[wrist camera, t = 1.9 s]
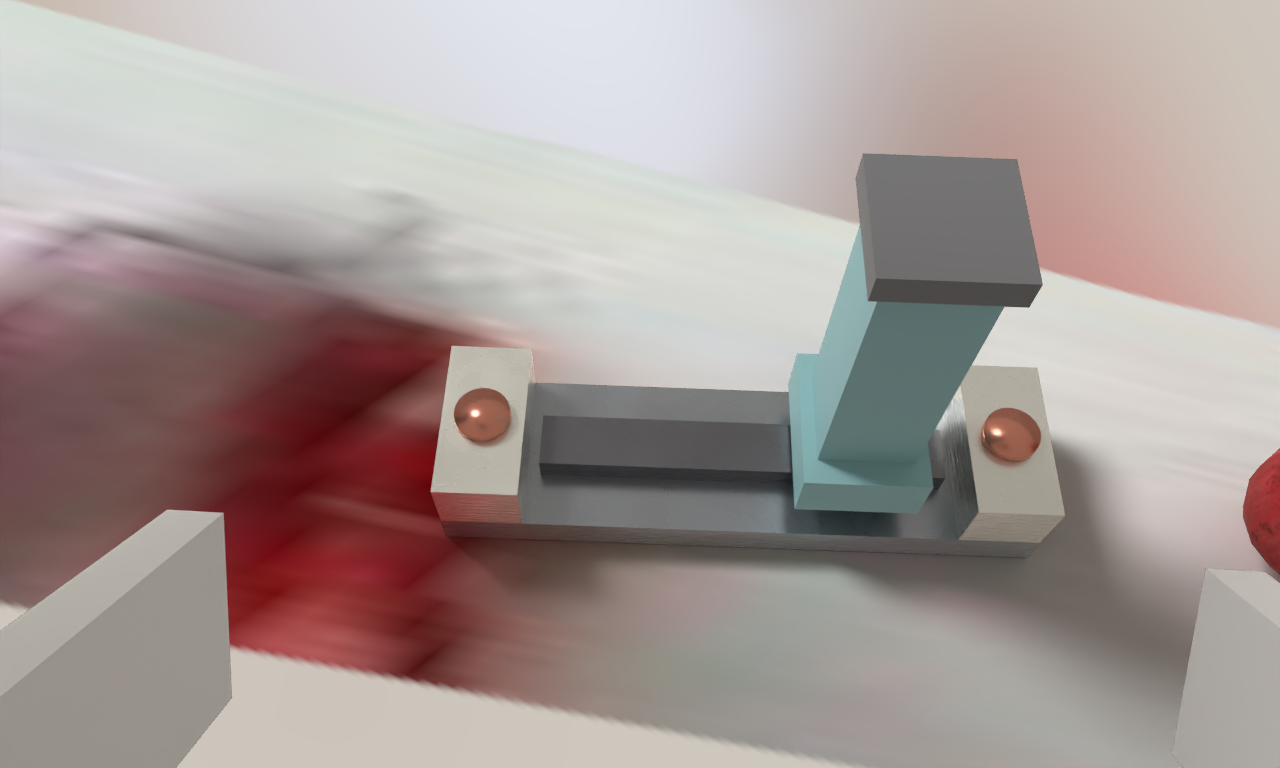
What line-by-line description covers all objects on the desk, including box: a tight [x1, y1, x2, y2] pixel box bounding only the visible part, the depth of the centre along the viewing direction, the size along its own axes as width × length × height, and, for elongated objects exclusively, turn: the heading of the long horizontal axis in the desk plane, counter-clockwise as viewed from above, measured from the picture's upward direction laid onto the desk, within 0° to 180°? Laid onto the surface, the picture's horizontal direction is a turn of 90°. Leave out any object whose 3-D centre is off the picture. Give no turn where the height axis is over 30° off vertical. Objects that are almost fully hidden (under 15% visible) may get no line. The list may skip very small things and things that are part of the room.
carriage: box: [788, 154, 1043, 514], centre depth 33 cm, size 4×5×13 cm
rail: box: [431, 346, 1065, 558], centre depth 39 cm, size 22×6×4 cm, turn 88°
